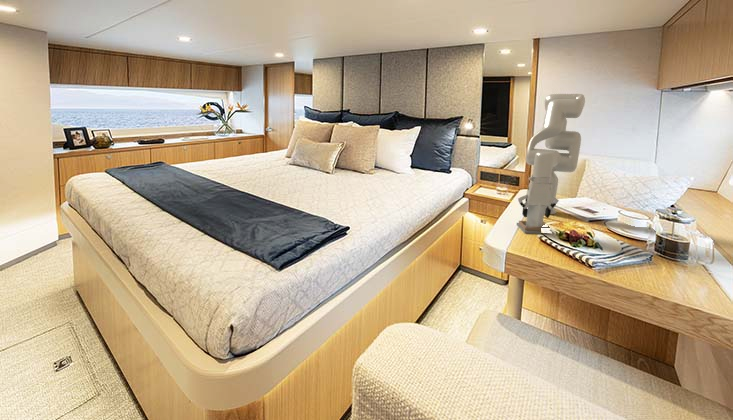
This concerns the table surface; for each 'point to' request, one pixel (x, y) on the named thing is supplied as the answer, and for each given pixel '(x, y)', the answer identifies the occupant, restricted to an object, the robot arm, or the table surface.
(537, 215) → the skincare box
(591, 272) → the table surface
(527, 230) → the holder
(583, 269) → the table surface
